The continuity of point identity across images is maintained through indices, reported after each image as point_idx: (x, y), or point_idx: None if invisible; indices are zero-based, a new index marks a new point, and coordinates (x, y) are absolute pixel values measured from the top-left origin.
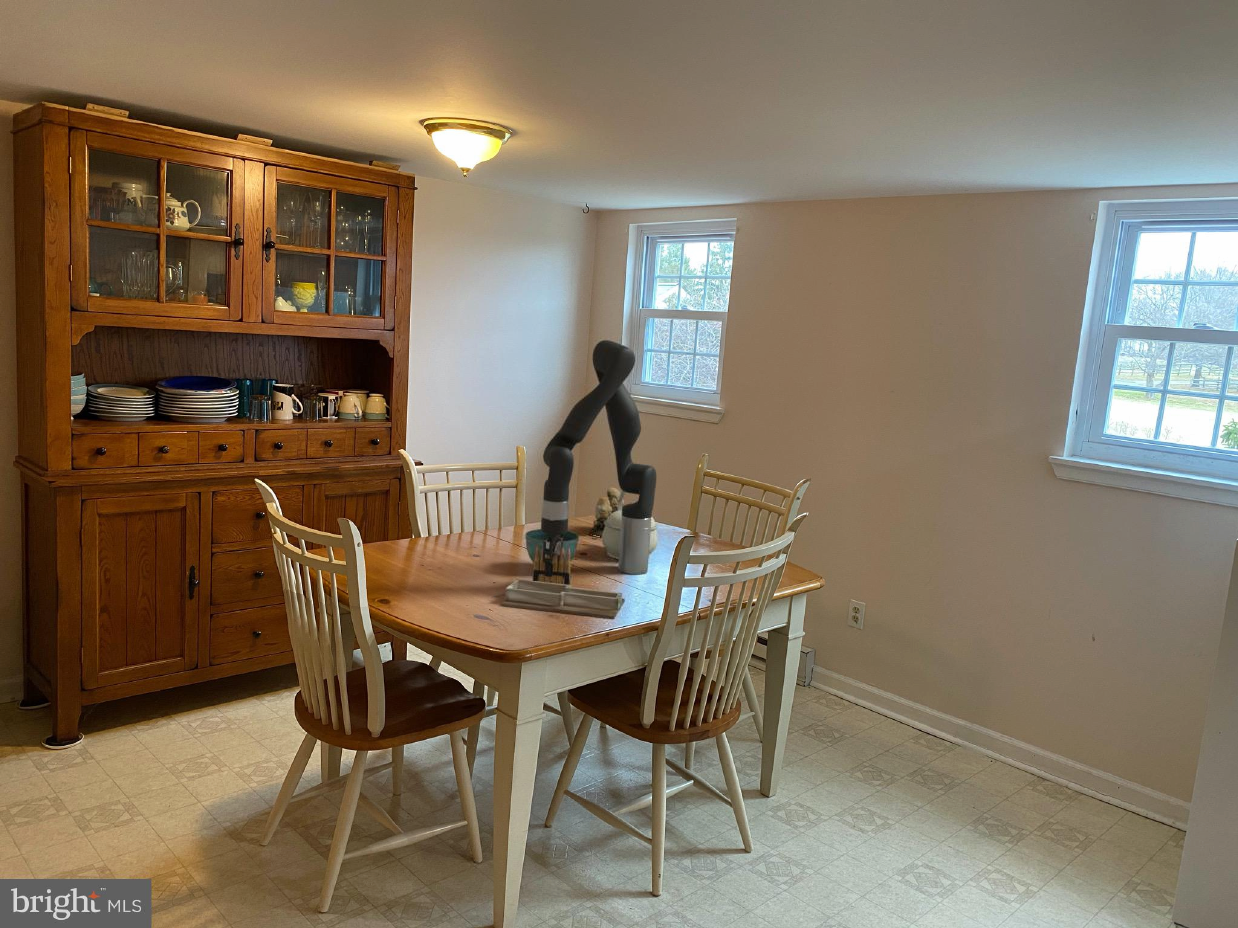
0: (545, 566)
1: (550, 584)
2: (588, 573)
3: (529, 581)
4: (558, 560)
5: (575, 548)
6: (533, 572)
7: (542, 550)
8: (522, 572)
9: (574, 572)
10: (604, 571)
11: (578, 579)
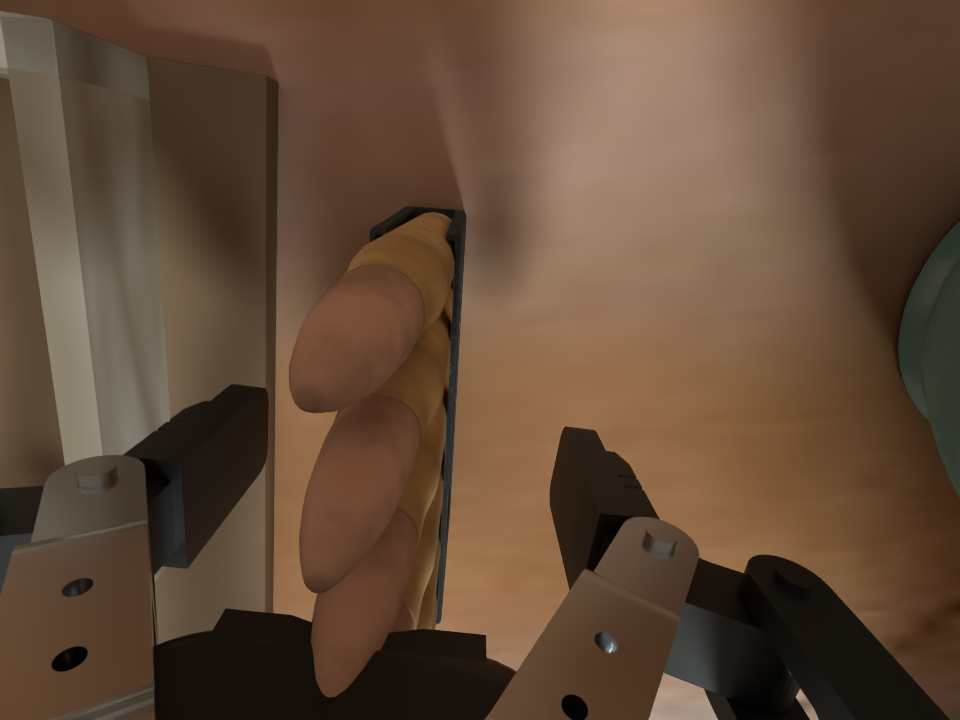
0: (168, 442)
1: (67, 450)
2: (898, 600)
3: (32, 219)
4: (566, 569)
5: None
6: (378, 225)
7: (317, 475)
8: (941, 24)
9: (930, 509)
10: (953, 687)
11: (721, 549)
